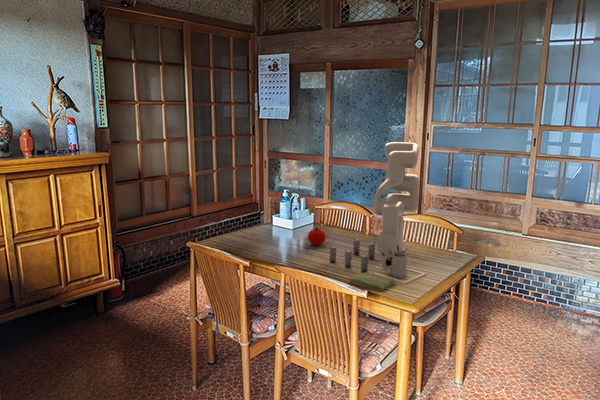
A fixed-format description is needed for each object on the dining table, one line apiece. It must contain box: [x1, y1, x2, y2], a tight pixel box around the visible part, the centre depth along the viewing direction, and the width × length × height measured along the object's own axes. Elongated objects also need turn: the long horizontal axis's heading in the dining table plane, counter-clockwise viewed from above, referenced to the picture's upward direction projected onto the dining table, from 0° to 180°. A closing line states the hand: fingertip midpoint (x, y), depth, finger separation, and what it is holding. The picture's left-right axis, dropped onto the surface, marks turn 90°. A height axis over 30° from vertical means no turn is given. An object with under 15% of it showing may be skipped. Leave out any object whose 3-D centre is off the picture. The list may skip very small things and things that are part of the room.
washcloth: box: [348, 272, 396, 292], centre depth 206 cm, size 13×18×3 cm
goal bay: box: [372, 267, 427, 285], centre depth 217 cm, size 18×18×1 cm
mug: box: [381, 249, 408, 279], centre depth 216 cm, size 8×12×12 cm, turn 75°
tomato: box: [307, 227, 327, 246], centre depth 264 cm, size 10×10×10 cm
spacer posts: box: [329, 238, 376, 274], centre depth 233 cm, size 22×23×8 cm
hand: (388, 266), depth 222 cm, fingers closed
